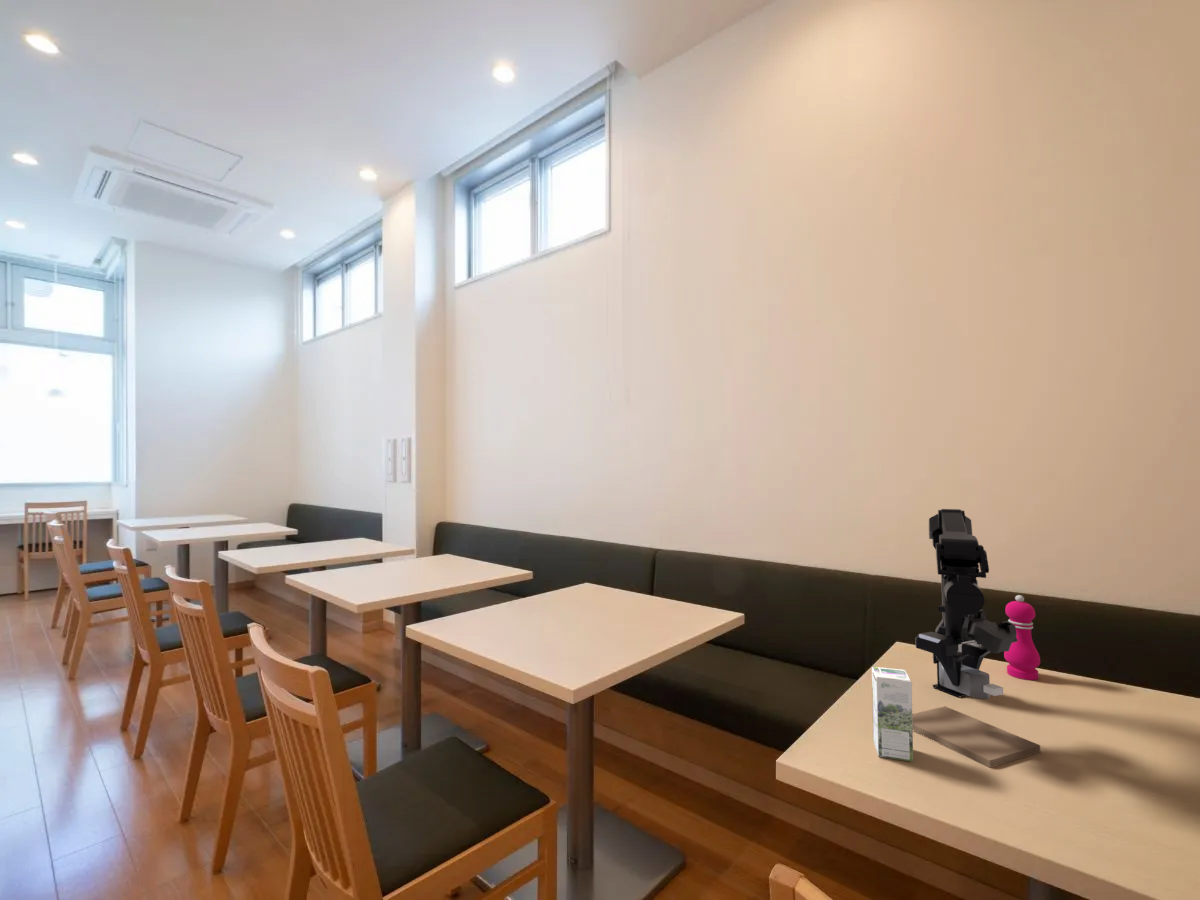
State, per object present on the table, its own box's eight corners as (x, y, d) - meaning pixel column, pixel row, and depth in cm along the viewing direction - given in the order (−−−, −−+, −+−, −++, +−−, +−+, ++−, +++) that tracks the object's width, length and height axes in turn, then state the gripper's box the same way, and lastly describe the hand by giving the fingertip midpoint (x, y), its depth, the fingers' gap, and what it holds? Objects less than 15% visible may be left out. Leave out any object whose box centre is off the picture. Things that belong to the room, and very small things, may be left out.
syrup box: (907, 747, 100) (904, 668, 101) (914, 763, 95) (911, 679, 96) (873, 742, 102) (871, 664, 103) (878, 758, 97) (875, 675, 97)
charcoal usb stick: (934, 683, 108) (934, 662, 108) (948, 680, 110) (947, 660, 110) (992, 704, 98) (991, 682, 98) (1006, 701, 99) (1005, 679, 100)
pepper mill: (1028, 670, 139) (1024, 592, 140) (1048, 681, 132) (1045, 598, 133) (998, 669, 140) (995, 591, 141) (1016, 680, 133) (1013, 598, 134)
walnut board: (897, 723, 110) (897, 717, 110) (945, 711, 115) (945, 706, 115) (989, 767, 93) (989, 760, 93) (1040, 751, 99) (1040, 745, 99)
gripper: (970, 617, 95) (973, 708, 94) (1036, 607, 102) (1040, 692, 101) (912, 603, 105) (914, 685, 104) (976, 595, 112) (979, 672, 111)
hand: (963, 684), depth 105 cm, fingers closed on charcoal usb stick, 4 cm apart
